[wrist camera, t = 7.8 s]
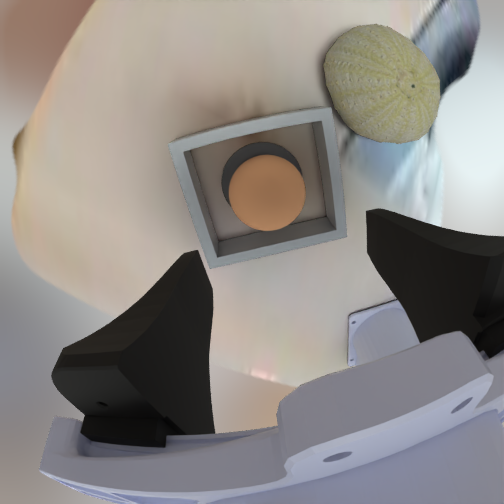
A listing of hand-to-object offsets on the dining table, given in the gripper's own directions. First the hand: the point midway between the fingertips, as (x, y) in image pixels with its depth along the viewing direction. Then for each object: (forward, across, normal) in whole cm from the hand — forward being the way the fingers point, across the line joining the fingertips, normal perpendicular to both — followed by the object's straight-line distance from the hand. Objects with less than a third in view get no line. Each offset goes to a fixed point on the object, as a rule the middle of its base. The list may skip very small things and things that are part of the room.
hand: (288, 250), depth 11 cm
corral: (+10, 0, 0) cm, 10 cm away
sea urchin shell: (+11, -10, -6) cm, 16 cm away
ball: (+10, 0, 0) cm, 10 cm away
